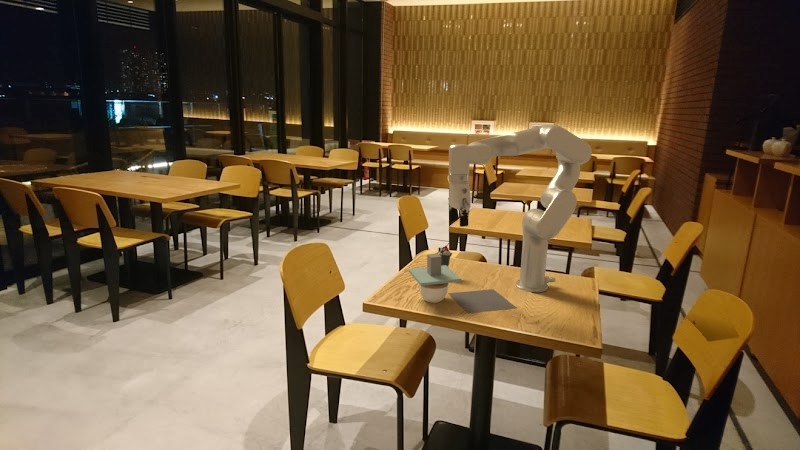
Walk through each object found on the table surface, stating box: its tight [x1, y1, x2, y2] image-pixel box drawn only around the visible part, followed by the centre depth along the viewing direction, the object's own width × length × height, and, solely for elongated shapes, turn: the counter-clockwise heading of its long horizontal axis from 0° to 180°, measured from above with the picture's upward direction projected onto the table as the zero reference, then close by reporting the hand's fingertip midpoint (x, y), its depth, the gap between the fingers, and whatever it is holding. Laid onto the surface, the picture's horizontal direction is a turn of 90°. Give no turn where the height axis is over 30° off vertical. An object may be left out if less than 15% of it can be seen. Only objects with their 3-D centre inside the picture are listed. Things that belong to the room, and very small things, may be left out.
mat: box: [447, 288, 518, 314], centre depth 175 cm, size 19×19×1 cm
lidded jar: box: [418, 283, 449, 304], centre depth 174 cm, size 11×11×9 cm
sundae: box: [437, 242, 453, 267], centre depth 199 cm, size 7×7×15 cm
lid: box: [408, 252, 462, 286], centre depth 172 cm, size 15×15×8 cm
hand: (458, 223), depth 179 cm, fingers open, 9 cm apart
